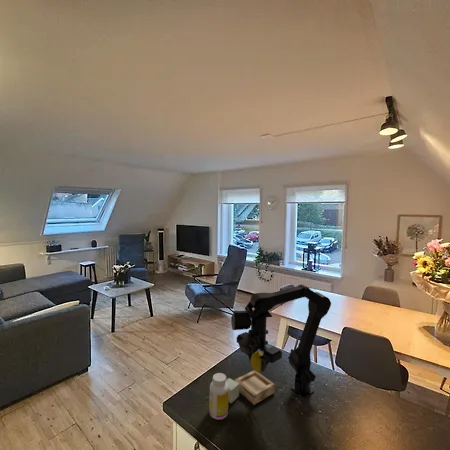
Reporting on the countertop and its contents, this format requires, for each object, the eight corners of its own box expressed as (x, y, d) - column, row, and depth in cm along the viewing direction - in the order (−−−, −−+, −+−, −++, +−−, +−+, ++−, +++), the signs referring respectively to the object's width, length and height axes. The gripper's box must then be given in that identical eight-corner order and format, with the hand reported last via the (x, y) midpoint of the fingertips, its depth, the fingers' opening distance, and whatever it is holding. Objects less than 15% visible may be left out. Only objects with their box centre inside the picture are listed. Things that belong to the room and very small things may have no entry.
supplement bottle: (231, 410, 89) (232, 375, 88) (221, 423, 83) (222, 386, 83) (215, 403, 92) (216, 368, 92) (205, 415, 87) (206, 378, 86)
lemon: (263, 367, 100) (263, 347, 99) (266, 376, 94) (267, 355, 94) (249, 367, 99) (249, 347, 99) (251, 376, 94) (252, 355, 93)
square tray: (254, 377, 107) (254, 369, 107) (274, 392, 99) (274, 384, 99) (234, 388, 101) (235, 379, 101) (253, 405, 92) (254, 395, 92)
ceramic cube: (228, 390, 100) (228, 377, 99) (238, 396, 96) (239, 383, 96) (220, 397, 96) (221, 384, 95) (231, 403, 92) (231, 390, 92)
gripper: (226, 324, 98) (225, 363, 99) (262, 344, 84) (261, 390, 84) (247, 317, 105) (246, 354, 106) (283, 335, 91) (282, 377, 91)
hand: (257, 367), depth 96 cm, fingers closed on lemon, 5 cm apart
